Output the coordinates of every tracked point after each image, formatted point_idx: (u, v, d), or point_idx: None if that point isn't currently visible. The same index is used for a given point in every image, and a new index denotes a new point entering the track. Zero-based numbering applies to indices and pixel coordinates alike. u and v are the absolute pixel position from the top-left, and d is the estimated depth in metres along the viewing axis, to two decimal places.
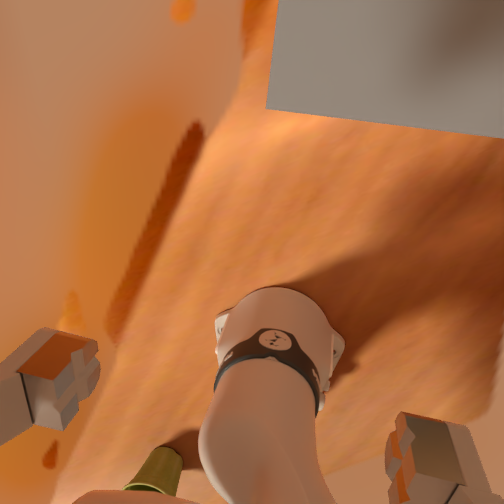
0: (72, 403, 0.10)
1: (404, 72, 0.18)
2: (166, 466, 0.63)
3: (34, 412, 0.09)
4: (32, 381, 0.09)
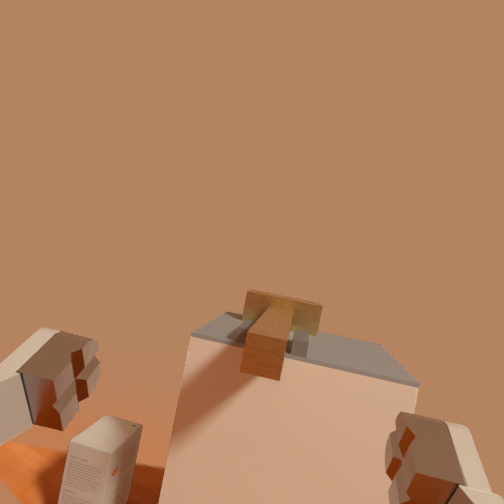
0: (72, 403, 0.10)
1: (379, 360, 0.41)
2: None
3: (34, 412, 0.09)
4: (32, 381, 0.09)
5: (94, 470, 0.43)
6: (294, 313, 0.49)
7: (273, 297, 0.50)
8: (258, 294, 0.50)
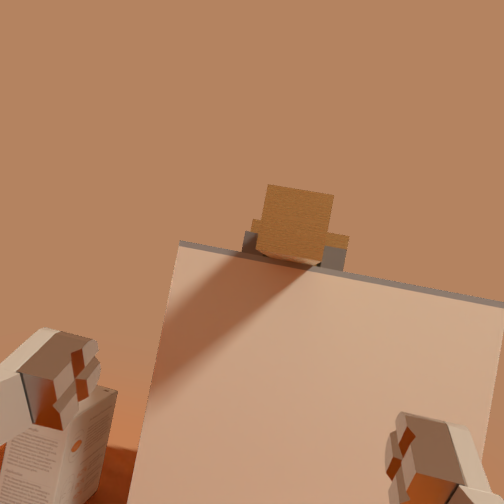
0: (72, 403, 0.10)
1: None
2: None
3: (34, 412, 0.09)
4: (32, 381, 0.09)
5: (47, 442, 0.31)
6: None
7: None
8: None
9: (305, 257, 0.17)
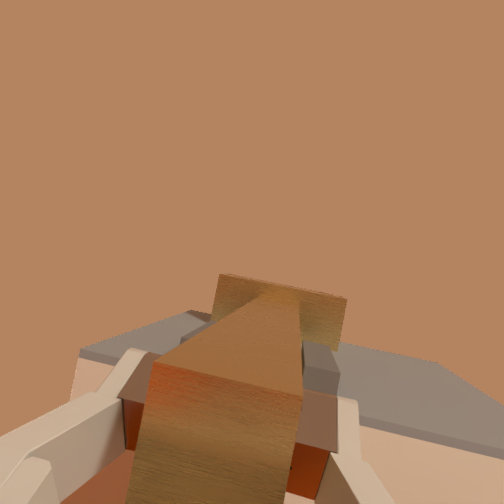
0: None
1: (469, 402, 0.21)
2: None
3: (129, 437, 0.09)
4: (133, 407, 0.08)
5: None
6: (299, 311, 0.29)
7: (263, 284, 0.29)
8: (238, 279, 0.30)
9: None
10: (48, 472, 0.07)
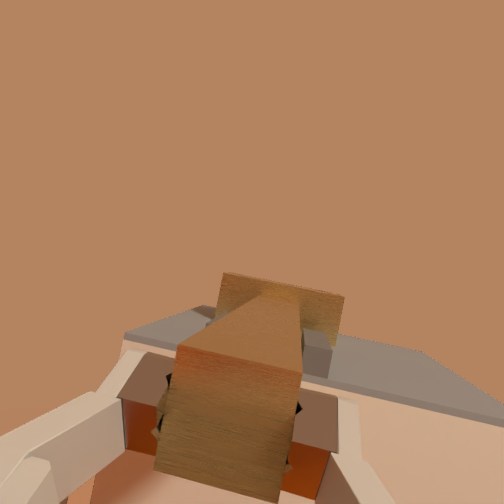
0: None
1: (441, 379, 0.25)
2: None
3: (129, 437, 0.09)
4: (132, 407, 0.08)
5: None
6: (299, 308, 0.30)
7: (265, 282, 0.31)
8: (241, 278, 0.31)
9: (247, 492, 0.09)
10: (48, 472, 0.07)
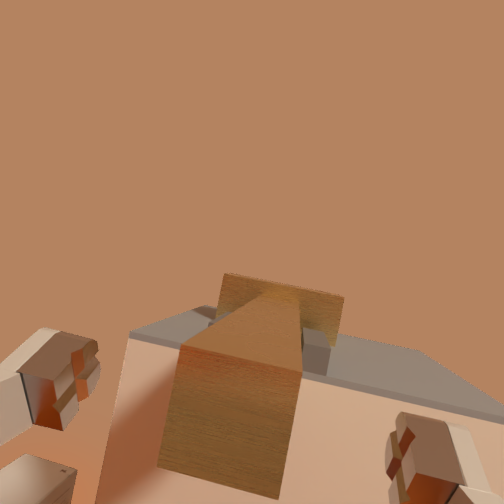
0: (73, 403, 0.10)
1: (437, 377, 0.26)
2: None
3: (34, 412, 0.09)
4: (32, 381, 0.09)
5: None
6: (299, 309, 0.31)
7: (265, 283, 0.31)
8: (241, 278, 0.31)
9: (248, 489, 0.09)
10: None
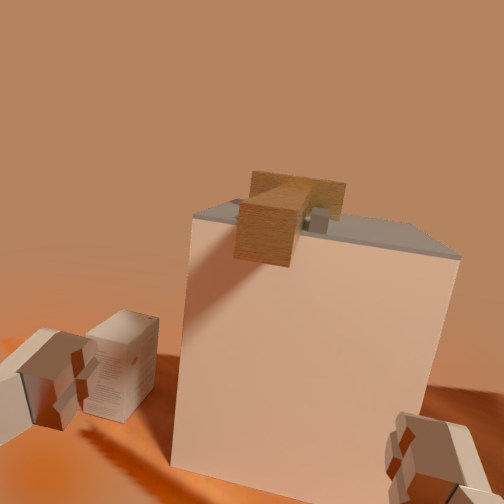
0: (72, 403, 0.10)
1: (411, 236, 0.36)
2: None
3: (34, 412, 0.09)
4: (32, 381, 0.09)
5: (113, 360, 0.42)
6: (311, 194, 0.40)
7: (285, 176, 0.40)
8: (266, 174, 0.41)
9: (275, 264, 0.20)
10: None
